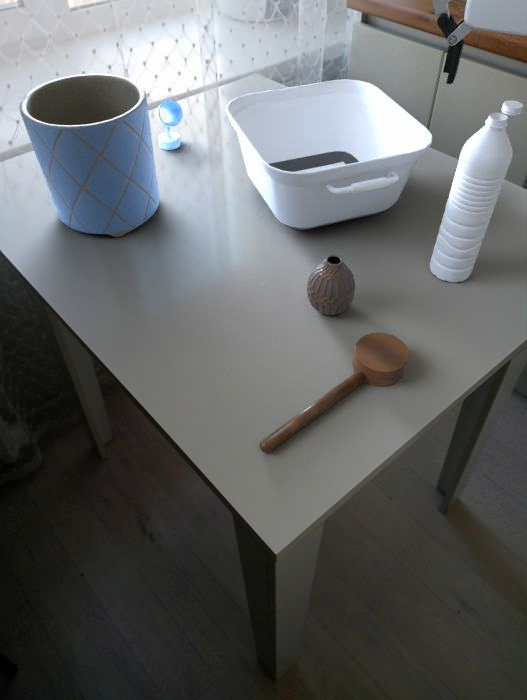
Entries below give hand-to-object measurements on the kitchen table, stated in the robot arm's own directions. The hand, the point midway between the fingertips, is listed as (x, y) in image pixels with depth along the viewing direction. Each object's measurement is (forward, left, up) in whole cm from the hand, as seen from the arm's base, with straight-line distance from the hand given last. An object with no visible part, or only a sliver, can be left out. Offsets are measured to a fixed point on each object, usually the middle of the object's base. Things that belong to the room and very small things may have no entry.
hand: (493, 85), depth 63 cm
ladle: (+8, +26, -30) cm, 41 cm away
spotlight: (+59, -25, -31) cm, 71 cm away
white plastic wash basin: (+24, -17, -31) cm, 42 cm away
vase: (+14, +10, -31) cm, 35 cm away
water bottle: (-2, -6, -31) cm, 31 cm away
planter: (+58, 0, -31) cm, 66 cm away
